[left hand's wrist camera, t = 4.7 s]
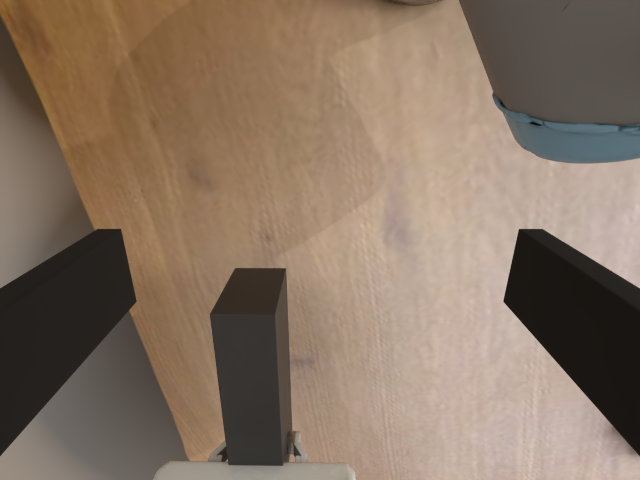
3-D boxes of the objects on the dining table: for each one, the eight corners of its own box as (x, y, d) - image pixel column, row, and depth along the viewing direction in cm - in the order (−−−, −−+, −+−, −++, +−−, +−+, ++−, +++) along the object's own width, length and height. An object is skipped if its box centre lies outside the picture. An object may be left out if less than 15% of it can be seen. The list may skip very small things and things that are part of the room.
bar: (235, 268, 40) (209, 314, 31) (286, 268, 40) (275, 314, 31) (249, 430, 48) (233, 502, 39) (292, 430, 48) (284, 503, 39)
